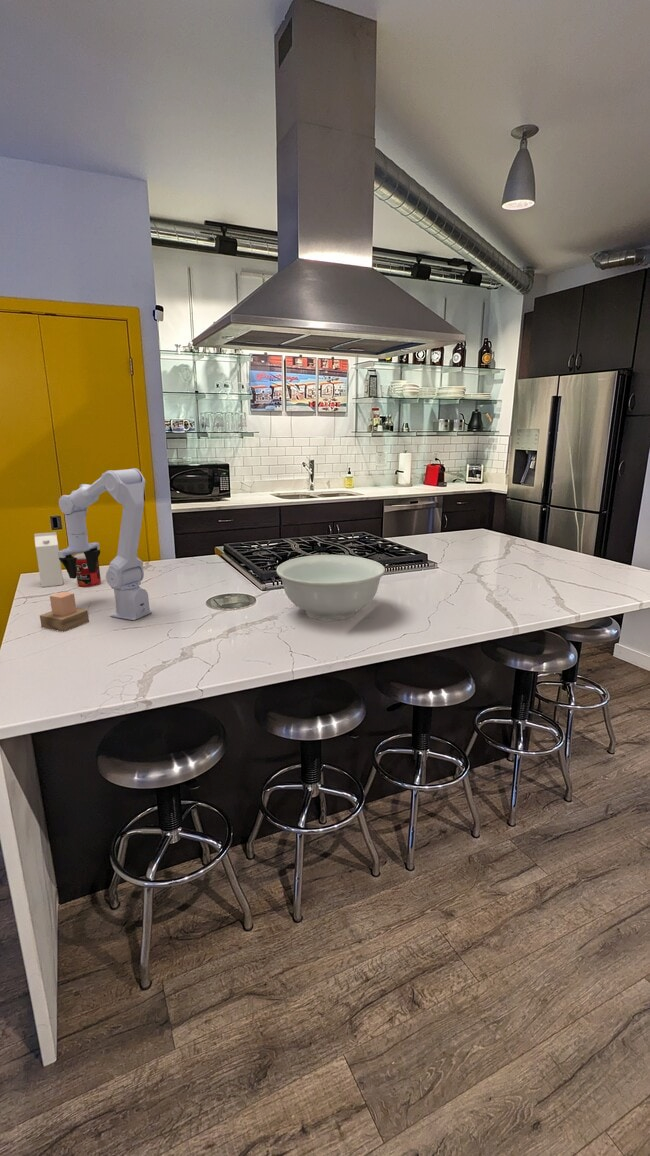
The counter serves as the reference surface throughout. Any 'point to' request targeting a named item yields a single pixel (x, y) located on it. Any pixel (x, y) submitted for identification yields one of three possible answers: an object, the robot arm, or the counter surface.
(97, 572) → the canned food
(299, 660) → the counter surface
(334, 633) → the counter surface
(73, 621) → the walnut base block
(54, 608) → the terracotta block
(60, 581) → the milk carton
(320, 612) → the bowl
